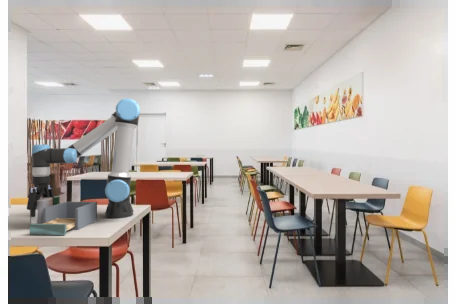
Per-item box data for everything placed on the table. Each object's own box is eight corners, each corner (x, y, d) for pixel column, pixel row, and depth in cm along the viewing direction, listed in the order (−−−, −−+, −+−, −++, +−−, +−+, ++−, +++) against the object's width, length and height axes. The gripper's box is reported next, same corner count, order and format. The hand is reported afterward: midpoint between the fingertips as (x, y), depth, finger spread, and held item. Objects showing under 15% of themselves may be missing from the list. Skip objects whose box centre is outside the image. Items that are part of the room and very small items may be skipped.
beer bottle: (42, 216, 168) (42, 174, 168) (46, 213, 175) (46, 173, 175) (57, 215, 170) (57, 173, 170) (61, 213, 178) (61, 172, 177)
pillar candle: (44, 223, 153) (43, 194, 153) (57, 224, 150) (57, 194, 150) (25, 227, 144) (24, 197, 144) (39, 229, 141) (38, 198, 141)
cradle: (66, 220, 159) (66, 201, 159) (97, 220, 158) (96, 201, 158) (43, 229, 141) (43, 208, 141) (78, 229, 140) (77, 208, 140)
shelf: (55, 224, 149) (55, 215, 149) (86, 224, 148) (86, 215, 148) (29, 234, 131) (29, 224, 131) (64, 234, 130) (64, 224, 130)
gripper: (48, 173, 158) (49, 215, 158) (16, 177, 136) (17, 226, 136) (62, 173, 158) (62, 215, 158) (32, 177, 136) (32, 226, 136)
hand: (41, 220), depth 147 cm, fingers closed on pillar candle, 10 cm apart
